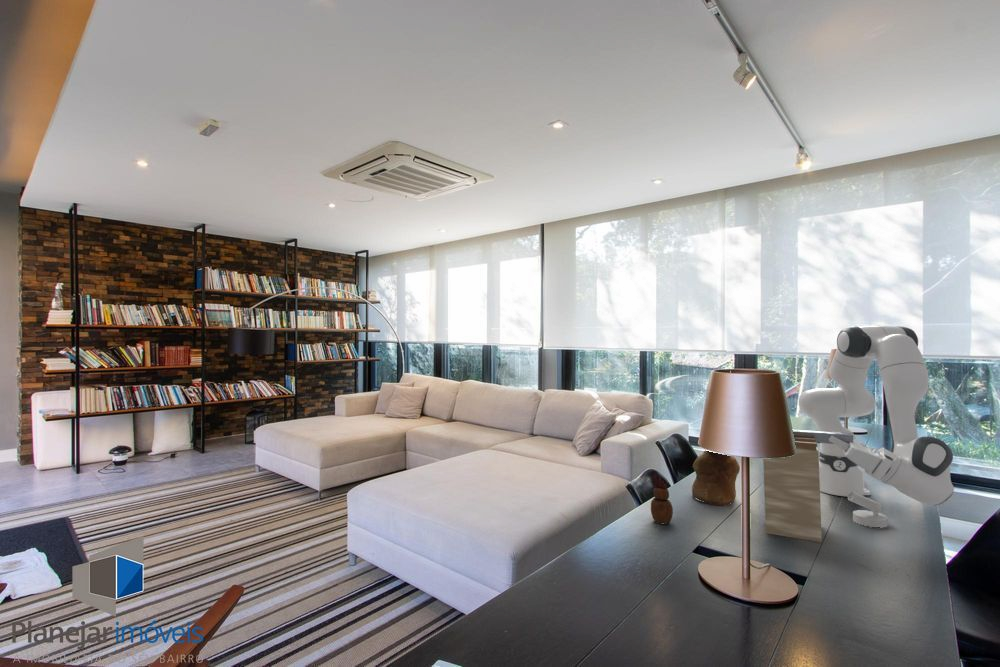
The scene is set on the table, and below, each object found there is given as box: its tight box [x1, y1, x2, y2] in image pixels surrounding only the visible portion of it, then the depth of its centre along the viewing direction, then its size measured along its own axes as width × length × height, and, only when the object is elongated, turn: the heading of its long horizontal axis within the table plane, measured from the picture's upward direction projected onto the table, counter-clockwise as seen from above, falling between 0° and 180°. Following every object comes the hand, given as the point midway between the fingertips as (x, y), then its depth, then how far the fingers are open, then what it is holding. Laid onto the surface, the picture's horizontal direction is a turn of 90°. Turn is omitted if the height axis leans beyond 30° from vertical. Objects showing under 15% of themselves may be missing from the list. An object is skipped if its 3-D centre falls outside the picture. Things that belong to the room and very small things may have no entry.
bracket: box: [792, 429, 854, 444], centre depth 146 cm, size 3×20×8 cm, turn 59°
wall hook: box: [847, 492, 889, 529], centre depth 149 cm, size 9×10×10 cm
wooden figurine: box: [650, 474, 674, 525], centre depth 153 cm, size 7×6×15 cm
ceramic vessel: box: [691, 450, 741, 506], centre depth 171 cm, size 16×22×30 cm
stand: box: [762, 437, 823, 543], centre depth 146 cm, size 14×14×28 cm
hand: (829, 436), depth 144 cm, fingers closed on bracket, 3 cm apart
